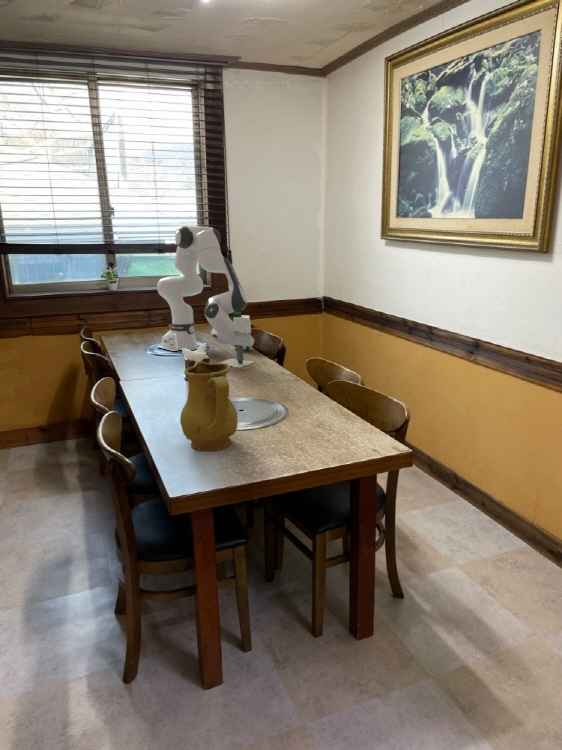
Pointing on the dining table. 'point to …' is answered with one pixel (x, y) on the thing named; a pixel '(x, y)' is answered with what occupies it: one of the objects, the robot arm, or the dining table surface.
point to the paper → (235, 363)
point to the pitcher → (208, 407)
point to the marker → (239, 354)
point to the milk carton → (242, 325)
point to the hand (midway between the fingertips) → (240, 347)
